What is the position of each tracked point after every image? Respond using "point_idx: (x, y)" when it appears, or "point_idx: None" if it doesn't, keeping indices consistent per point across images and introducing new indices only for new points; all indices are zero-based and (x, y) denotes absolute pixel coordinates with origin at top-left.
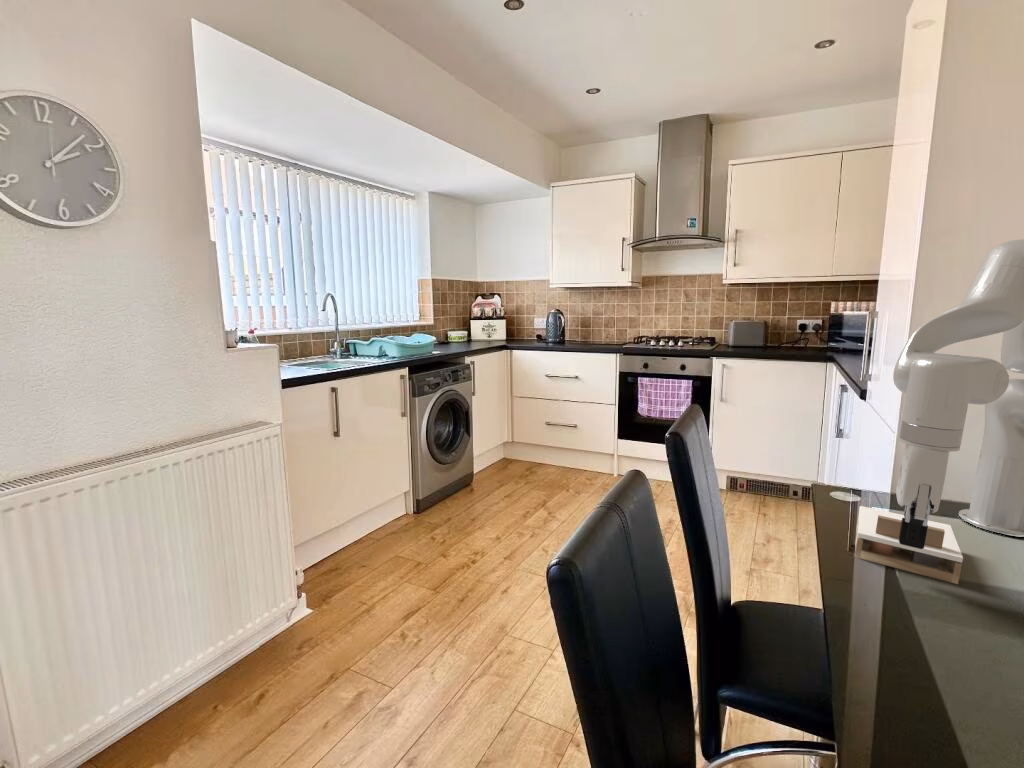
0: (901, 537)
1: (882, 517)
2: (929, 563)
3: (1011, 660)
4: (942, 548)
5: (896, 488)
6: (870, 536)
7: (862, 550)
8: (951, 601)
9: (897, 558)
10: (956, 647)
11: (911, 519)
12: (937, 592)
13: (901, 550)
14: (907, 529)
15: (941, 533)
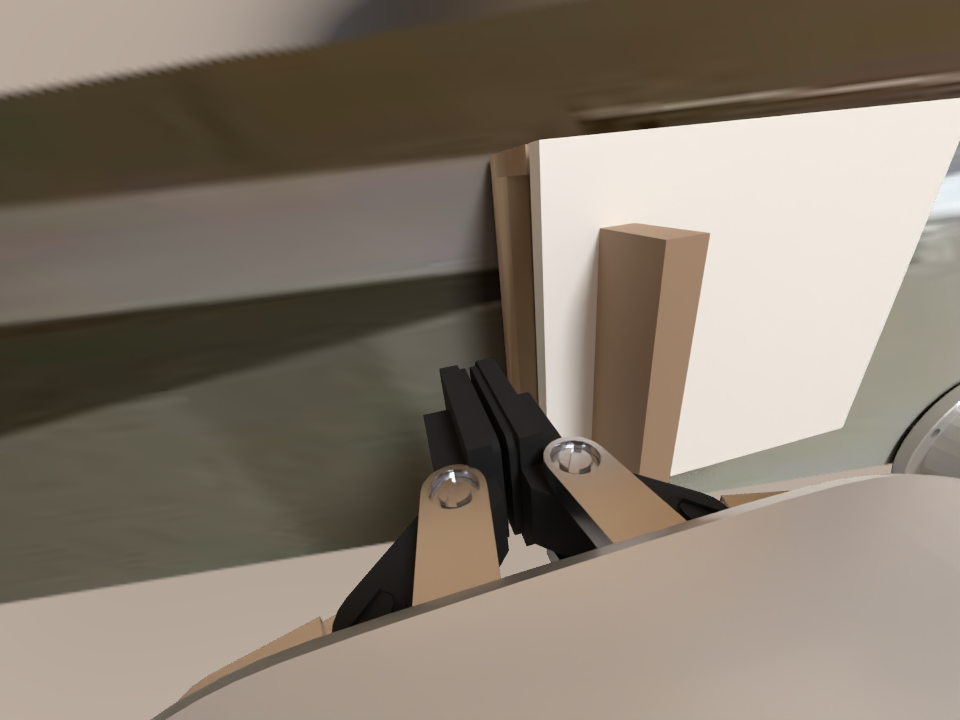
0: (445, 389)
1: (677, 263)
2: None
3: (174, 571)
4: None
5: (947, 488)
6: (539, 209)
7: (516, 180)
8: (408, 442)
9: (531, 311)
10: (86, 500)
11: (387, 554)
12: (441, 410)
13: None
14: (457, 443)
15: None
